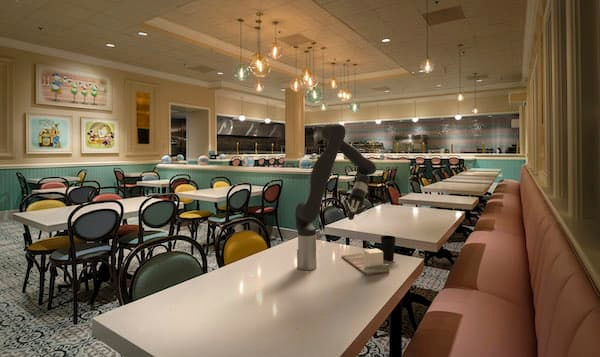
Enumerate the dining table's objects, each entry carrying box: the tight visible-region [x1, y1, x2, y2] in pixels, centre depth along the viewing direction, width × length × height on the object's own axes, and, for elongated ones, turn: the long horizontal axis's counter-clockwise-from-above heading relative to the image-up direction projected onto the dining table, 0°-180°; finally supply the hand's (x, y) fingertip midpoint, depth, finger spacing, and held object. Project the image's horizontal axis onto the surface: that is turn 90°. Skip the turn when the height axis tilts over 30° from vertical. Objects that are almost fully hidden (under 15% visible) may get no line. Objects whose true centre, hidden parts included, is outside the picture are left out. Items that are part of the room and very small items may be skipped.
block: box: [363, 248, 384, 269], centre depth 169 cm, size 6×7×9 cm
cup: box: [380, 235, 396, 262], centre depth 186 cm, size 8×8×12 cm
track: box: [341, 252, 390, 277], centre depth 179 cm, size 29×12×4 cm, turn 17°
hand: (350, 219), depth 176 cm, fingers closed
